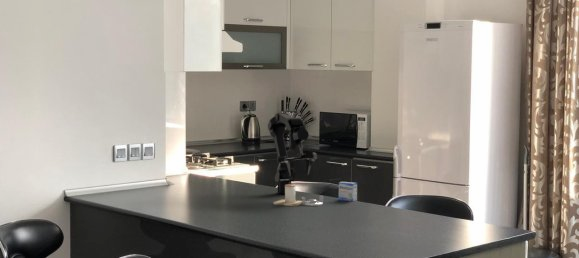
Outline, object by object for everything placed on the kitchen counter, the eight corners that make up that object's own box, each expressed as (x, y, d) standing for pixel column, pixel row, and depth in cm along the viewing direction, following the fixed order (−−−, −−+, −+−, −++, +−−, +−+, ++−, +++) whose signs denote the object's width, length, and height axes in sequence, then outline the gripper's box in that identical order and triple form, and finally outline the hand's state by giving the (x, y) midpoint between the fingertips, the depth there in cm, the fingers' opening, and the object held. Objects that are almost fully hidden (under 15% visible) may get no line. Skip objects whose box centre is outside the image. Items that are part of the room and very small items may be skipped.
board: (273, 204, 374) (273, 202, 374) (282, 201, 382) (282, 199, 382) (294, 206, 369) (294, 203, 369) (303, 203, 377) (303, 201, 377)
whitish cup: (283, 202, 374) (282, 185, 373) (290, 200, 377) (290, 183, 376) (290, 203, 370) (290, 186, 369) (297, 201, 374) (297, 184, 373)
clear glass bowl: (298, 203, 376) (298, 195, 376) (318, 201, 381) (318, 194, 380) (306, 206, 368) (306, 199, 367) (327, 205, 372) (327, 197, 372)
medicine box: (338, 200, 385) (338, 182, 384) (342, 199, 389) (342, 181, 388) (353, 201, 381) (353, 183, 381) (357, 200, 385) (357, 182, 385)
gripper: (271, 144, 384) (274, 177, 382) (308, 139, 378) (311, 172, 375) (280, 146, 394) (282, 178, 392) (316, 141, 388) (319, 173, 386)
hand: (298, 175), depth 386 cm, fingers open, 9 cm apart
